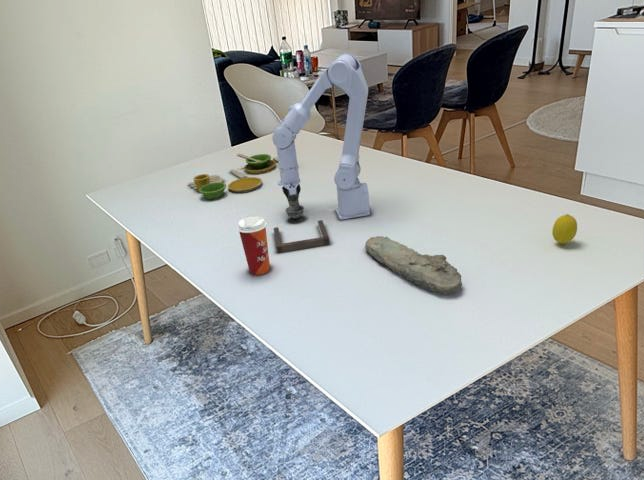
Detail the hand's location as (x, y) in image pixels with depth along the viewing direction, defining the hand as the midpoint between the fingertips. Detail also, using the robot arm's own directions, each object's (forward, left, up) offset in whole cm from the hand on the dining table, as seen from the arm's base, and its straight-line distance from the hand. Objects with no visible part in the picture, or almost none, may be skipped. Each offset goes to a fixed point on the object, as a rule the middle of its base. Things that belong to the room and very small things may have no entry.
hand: (294, 208), depth 181 cm
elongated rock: (-25, +48, -2) cm, 54 cm away
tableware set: (+15, -41, -2) cm, 44 cm away
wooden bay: (0, +19, -2) cm, 19 cm away
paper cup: (+13, +35, -2) cm, 37 cm away
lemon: (-64, +48, -2) cm, 80 cm away
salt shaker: (0, +5, -2) cm, 5 cm away
